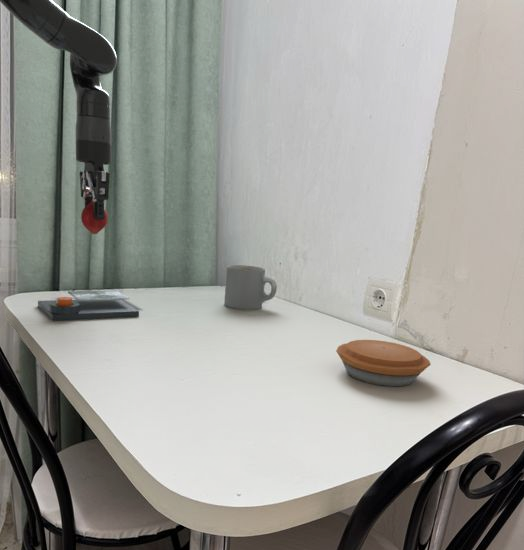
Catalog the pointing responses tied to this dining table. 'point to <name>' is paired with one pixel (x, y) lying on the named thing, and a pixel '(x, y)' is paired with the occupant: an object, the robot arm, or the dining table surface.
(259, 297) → the coffee mug
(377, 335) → the dining table surface
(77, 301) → the scale
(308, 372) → the dining table surface
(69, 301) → the tare button
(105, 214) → the onion
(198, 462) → the dining table surface
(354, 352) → the pie
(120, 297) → the weighing plate
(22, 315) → the dining table surface
